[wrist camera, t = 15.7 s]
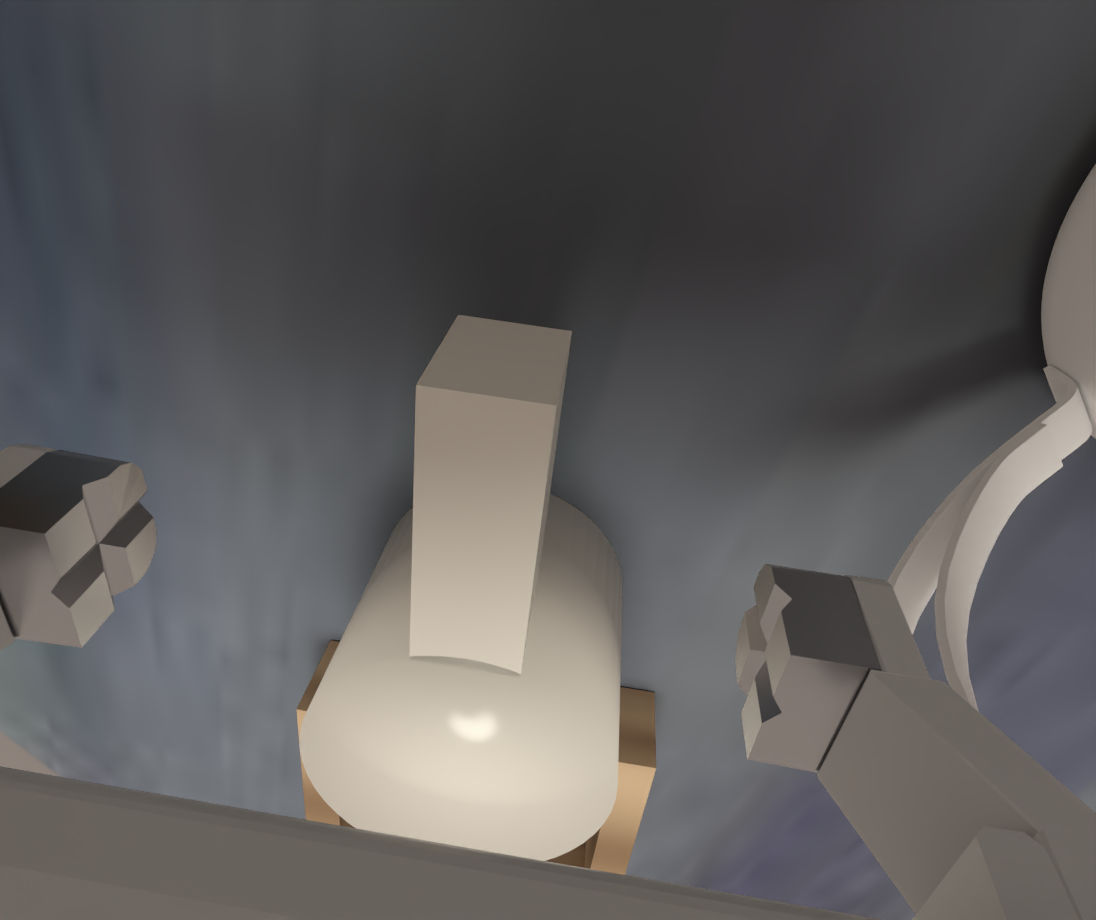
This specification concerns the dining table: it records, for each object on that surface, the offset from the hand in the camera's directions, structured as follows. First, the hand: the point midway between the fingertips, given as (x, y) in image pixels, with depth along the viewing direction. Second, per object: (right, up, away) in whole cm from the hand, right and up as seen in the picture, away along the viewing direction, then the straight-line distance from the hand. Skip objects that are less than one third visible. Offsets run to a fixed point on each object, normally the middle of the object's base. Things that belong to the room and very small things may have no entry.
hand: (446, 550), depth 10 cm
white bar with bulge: (0, -2, +13) cm, 13 cm away
